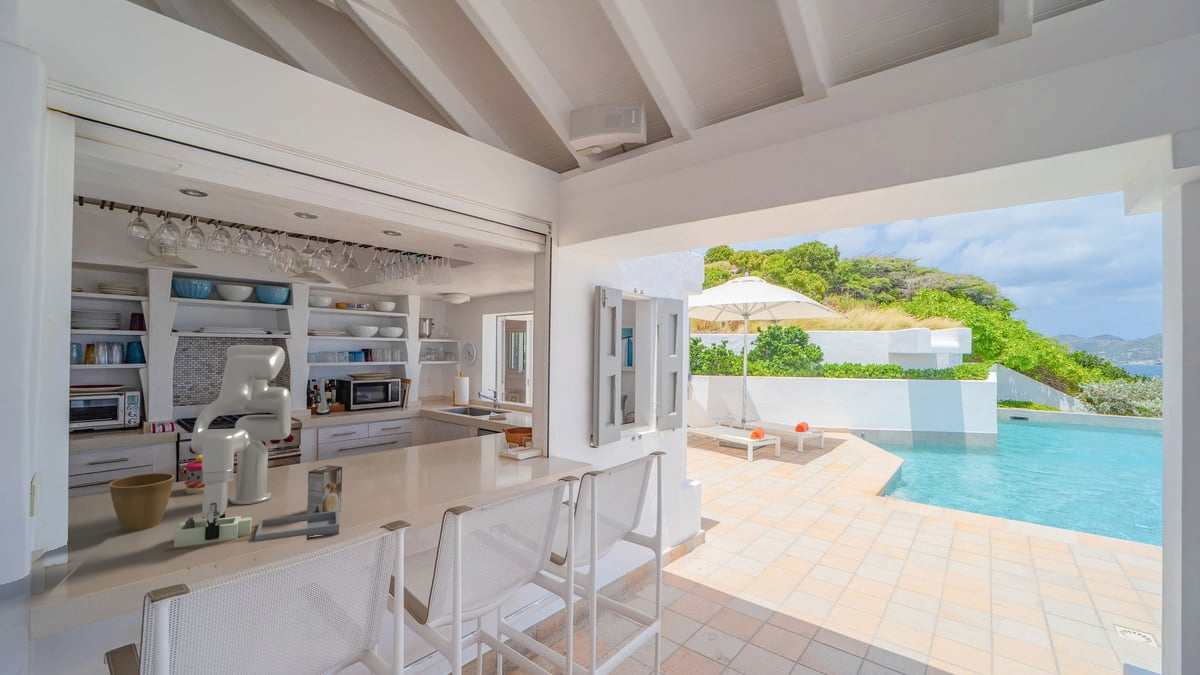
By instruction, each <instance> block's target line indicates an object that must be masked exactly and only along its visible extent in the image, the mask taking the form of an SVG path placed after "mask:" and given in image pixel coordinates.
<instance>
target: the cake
mask: <svg viewBox="0 0 1200 675" xmlns="http://www.w3.org/2000/svg"><path fill="white" fill-rule="evenodd" d="M185 473H186V480H185V482H183V484H184V485H185V494H187V495H201V494H204V487H205V484H203V483H201V477H202V454H197V456H196V457H195V460H194V461H191V462H189V463H188V462H187V463H186V465H185Z"/></svg>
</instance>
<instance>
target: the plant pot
mask: <svg viewBox="0 0 1200 675" xmlns="http://www.w3.org/2000/svg"><path fill="white" fill-rule="evenodd" d="M174 478H175V475H174V474H173V473H172V474H171V473H164V472H163V473H162V472H157V473H155V472H153V473H144V474H137V475H136V474H135V475H130V476H126V477H121V478H118V479H116V480H114V481H111V482H110V483H109V492H110V497H111V500H112V504H113V508H114V512H115V514H116V517H117V520H118V522H119V524H120V526H121V528H122V530H123V531H127V532H134V531H135V532H136V531H143V530H149V529H150V528H151V529H152V528H154V527H157V526H158V525H160V523H161V521H162V519H163V516H164V514H165V511H166V509H167V506H168V504H169V499H170V497H171V494H172V489H173V485H174V480H175V479H174Z"/></svg>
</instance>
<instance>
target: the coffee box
mask: <svg viewBox="0 0 1200 675" xmlns="http://www.w3.org/2000/svg"><path fill="white" fill-rule="evenodd" d="M307 475H308V476H307V479H308V480H307V512H306V514H314V513H323V512H331V511H338V513H340V512H342V490H343V489H342V488H343V485H342V484H343V483H342V482H343V466H339V465H324V466H322V467H319V468H315V469H311V470H308V474H307Z"/></svg>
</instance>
